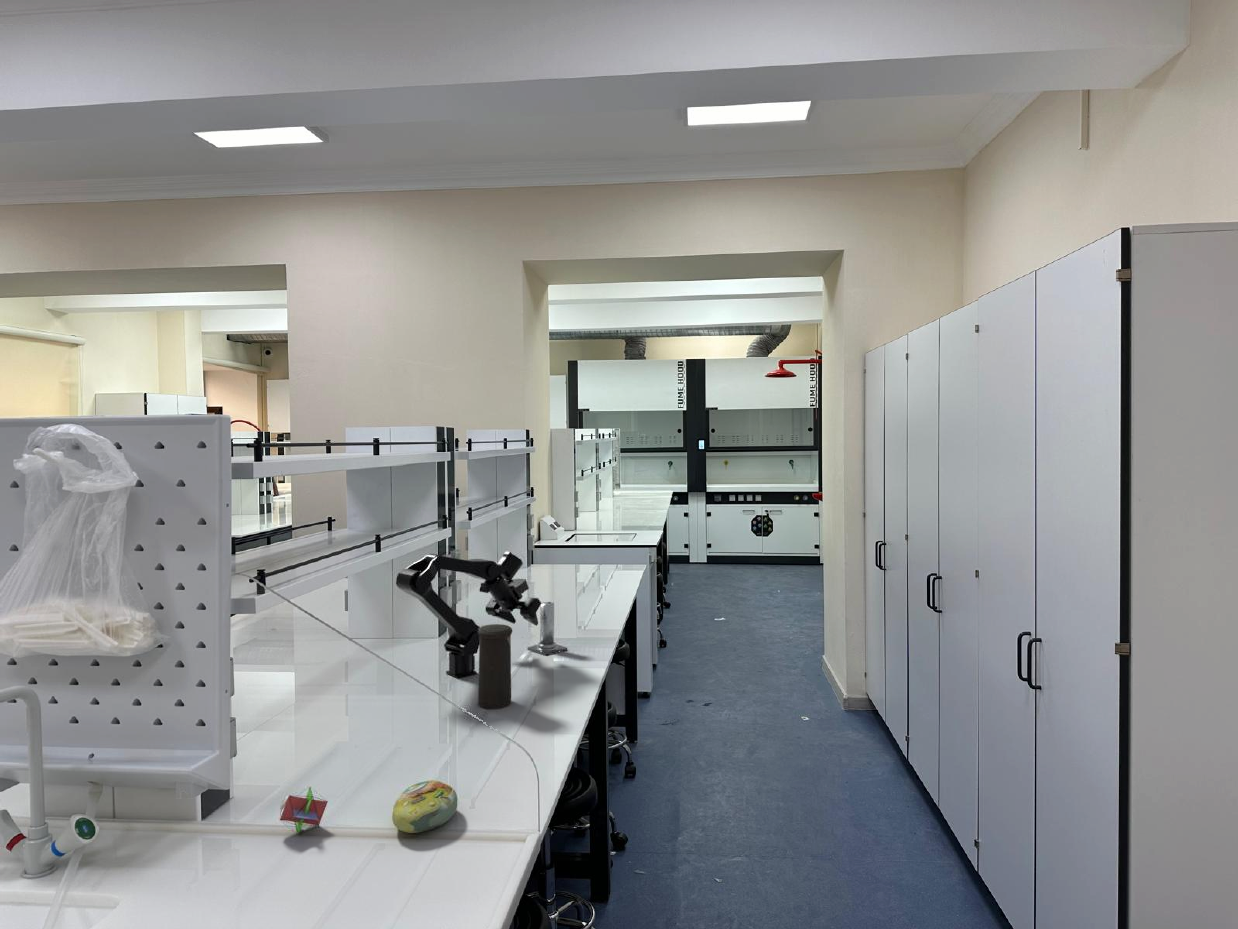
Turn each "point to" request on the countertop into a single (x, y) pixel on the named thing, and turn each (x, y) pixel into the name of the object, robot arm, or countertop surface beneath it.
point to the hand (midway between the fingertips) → (525, 623)
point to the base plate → (545, 652)
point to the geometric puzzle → (302, 810)
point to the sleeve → (547, 626)
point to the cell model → (424, 806)
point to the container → (494, 666)
